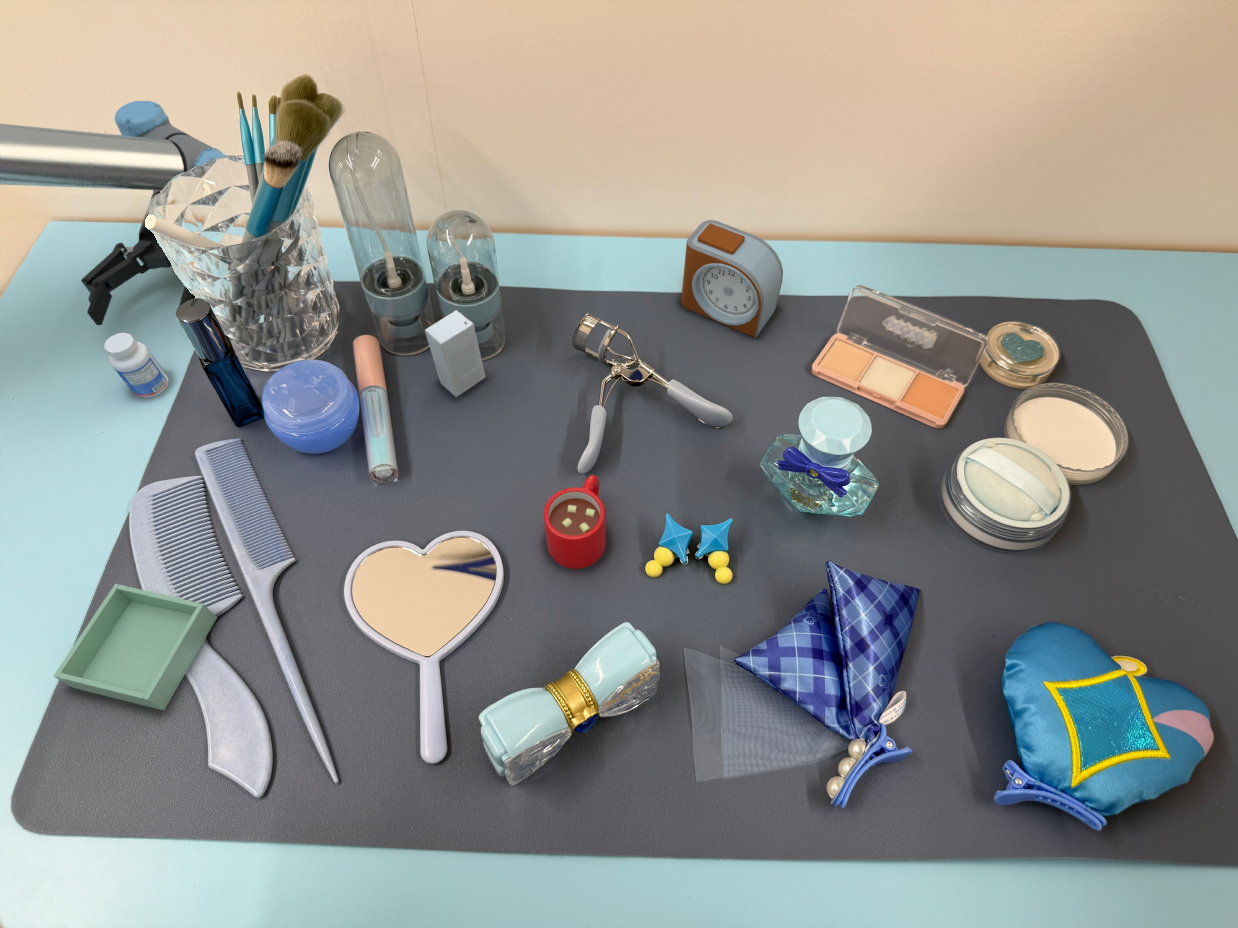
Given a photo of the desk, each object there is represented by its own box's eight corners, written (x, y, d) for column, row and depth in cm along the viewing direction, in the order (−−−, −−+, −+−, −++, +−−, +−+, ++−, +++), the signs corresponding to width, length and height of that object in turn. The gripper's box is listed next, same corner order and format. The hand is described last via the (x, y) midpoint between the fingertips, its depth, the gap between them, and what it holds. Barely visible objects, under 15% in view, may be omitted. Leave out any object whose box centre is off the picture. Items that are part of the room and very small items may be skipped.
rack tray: (73, 687, 93) (52, 676, 89) (131, 597, 100) (115, 583, 96) (164, 710, 91) (147, 699, 88) (217, 617, 98) (203, 603, 95)
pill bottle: (132, 377, 121) (99, 333, 113) (169, 369, 122) (138, 324, 114) (132, 403, 118) (98, 359, 110) (169, 393, 119) (138, 350, 111)
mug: (621, 501, 108) (621, 470, 102) (595, 575, 102) (594, 546, 95) (568, 488, 110) (565, 456, 103) (539, 560, 103) (534, 530, 97)
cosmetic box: (469, 364, 123) (457, 308, 113) (486, 378, 122) (475, 323, 112) (438, 384, 121) (423, 329, 111) (455, 399, 119) (441, 344, 109)
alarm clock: (675, 306, 131) (681, 241, 120) (699, 277, 135) (707, 212, 124) (754, 339, 127) (767, 275, 116) (776, 308, 131) (791, 244, 120)
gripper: (252, 239, 135) (233, 325, 123) (104, 251, 133) (70, 339, 121) (235, 203, 129) (213, 289, 117) (79, 214, 127) (41, 303, 115)
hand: (140, 315), depth 119 cm, fingers open, 13 cm apart
